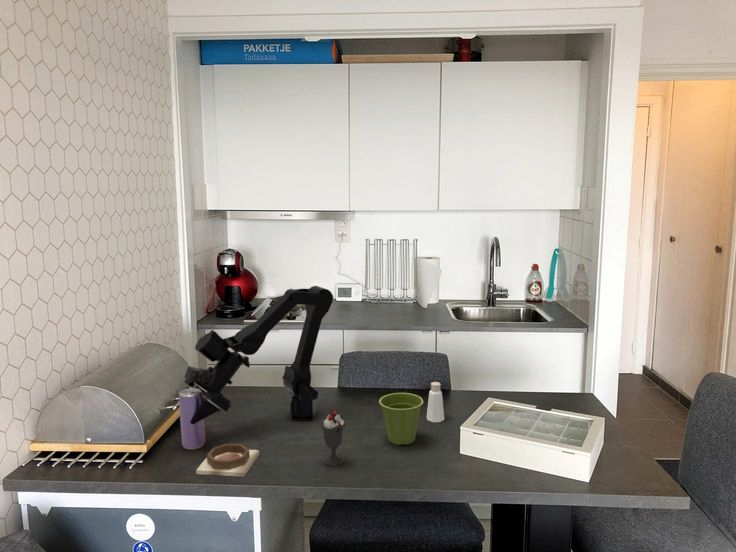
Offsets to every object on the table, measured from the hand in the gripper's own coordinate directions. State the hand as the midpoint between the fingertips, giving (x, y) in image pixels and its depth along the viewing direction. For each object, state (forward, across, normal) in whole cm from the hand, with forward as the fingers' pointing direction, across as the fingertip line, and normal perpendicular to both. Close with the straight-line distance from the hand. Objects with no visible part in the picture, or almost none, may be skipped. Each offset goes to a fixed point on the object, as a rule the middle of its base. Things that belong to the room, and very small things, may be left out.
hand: (187, 419), depth 160 cm
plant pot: (-28, +32, +38) cm, 57 cm away
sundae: (-12, +31, +24) cm, 41 cm away
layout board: (+2, +16, +8) cm, 18 cm away
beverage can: (+4, 0, +6) cm, 8 cm away
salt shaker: (-40, +28, +50) cm, 70 cm away
